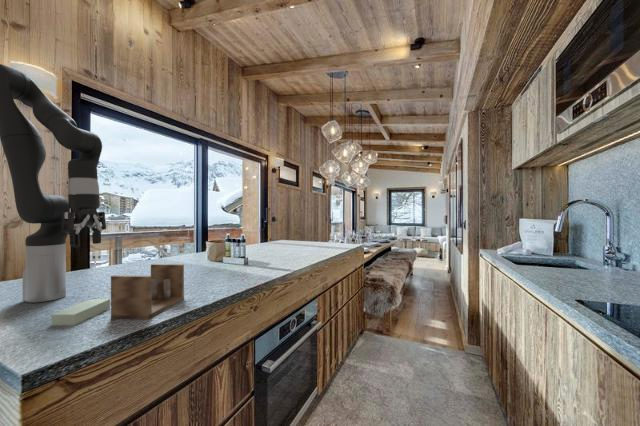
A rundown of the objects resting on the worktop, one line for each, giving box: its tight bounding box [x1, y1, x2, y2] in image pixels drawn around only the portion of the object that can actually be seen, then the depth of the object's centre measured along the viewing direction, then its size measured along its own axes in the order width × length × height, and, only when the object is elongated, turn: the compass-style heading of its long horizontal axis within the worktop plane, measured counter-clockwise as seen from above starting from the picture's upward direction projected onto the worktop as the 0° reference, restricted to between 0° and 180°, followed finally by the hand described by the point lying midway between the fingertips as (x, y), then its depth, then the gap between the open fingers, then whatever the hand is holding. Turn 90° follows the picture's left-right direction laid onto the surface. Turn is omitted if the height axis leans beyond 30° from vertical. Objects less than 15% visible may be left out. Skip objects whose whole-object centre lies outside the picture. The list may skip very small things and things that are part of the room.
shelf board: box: [50, 298, 111, 326], centre depth 75 cm, size 6×12×3 cm, turn 1°
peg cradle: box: [110, 263, 185, 320], centre depth 81 cm, size 10×17×11 cm, turn 178°
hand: (86, 245), depth 88 cm, fingers open, 8 cm apart
